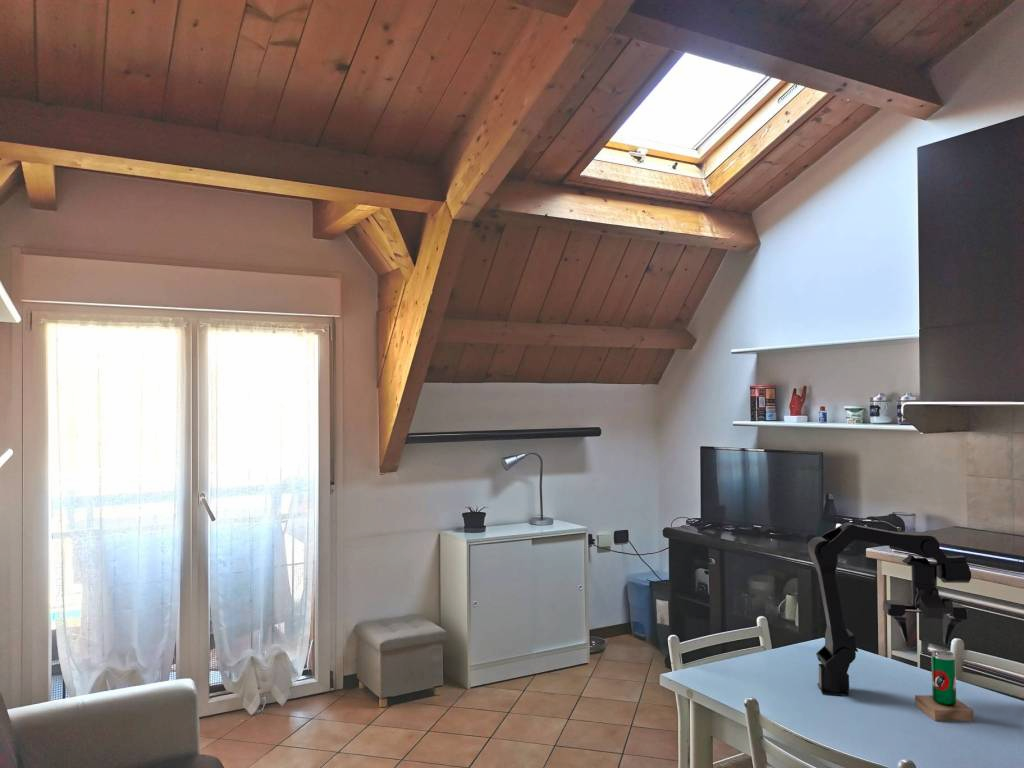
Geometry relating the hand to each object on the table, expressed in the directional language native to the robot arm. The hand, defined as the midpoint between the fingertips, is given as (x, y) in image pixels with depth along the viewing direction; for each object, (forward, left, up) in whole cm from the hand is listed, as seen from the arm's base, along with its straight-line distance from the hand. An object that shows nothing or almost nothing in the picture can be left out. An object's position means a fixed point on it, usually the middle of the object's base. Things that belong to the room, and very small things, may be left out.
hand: (925, 643), depth 192 cm
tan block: (0, -12, -13) cm, 18 cm away
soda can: (0, -12, -11) cm, 16 cm away
